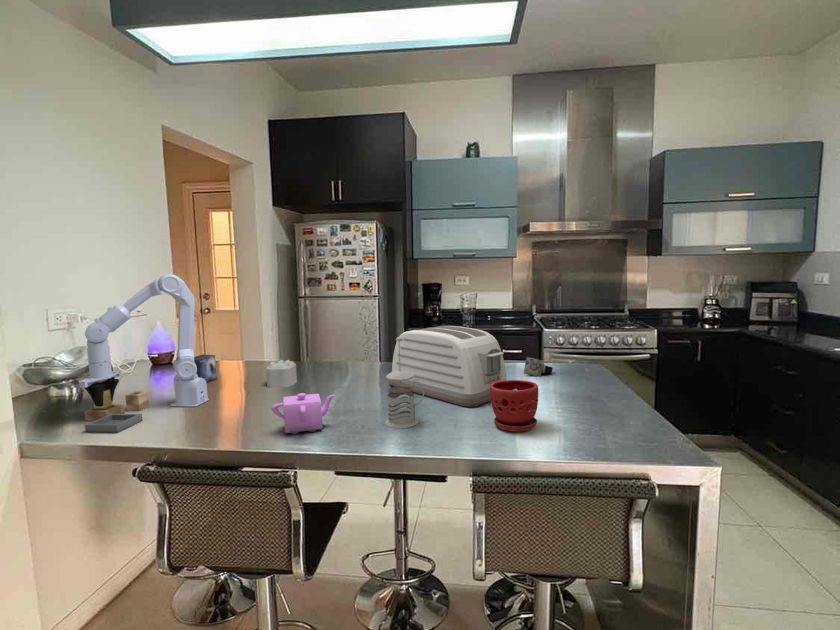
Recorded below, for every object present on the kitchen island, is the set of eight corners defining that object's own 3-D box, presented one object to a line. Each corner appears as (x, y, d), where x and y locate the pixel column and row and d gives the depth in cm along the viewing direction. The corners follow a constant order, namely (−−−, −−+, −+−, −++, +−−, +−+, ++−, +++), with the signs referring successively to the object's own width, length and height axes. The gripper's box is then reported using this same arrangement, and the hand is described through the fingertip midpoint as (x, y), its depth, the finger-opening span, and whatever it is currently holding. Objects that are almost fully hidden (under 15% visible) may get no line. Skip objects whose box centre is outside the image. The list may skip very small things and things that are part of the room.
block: (149, 407, 155) (147, 391, 155) (139, 411, 151) (138, 395, 150) (136, 407, 156) (135, 391, 155) (126, 411, 151) (125, 395, 151)
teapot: (335, 417, 140) (334, 385, 139) (341, 433, 127) (339, 397, 126) (273, 425, 135) (271, 391, 134) (272, 442, 122) (269, 404, 121)
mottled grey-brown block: (549, 377, 192) (552, 380, 182) (521, 371, 194) (523, 373, 184) (552, 361, 192) (555, 363, 182) (525, 355, 194) (526, 357, 184)
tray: (142, 421, 141) (142, 414, 141) (117, 433, 131) (116, 425, 131) (112, 420, 142) (111, 413, 142) (85, 432, 132) (84, 424, 132)
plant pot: (537, 419, 134) (537, 379, 133) (538, 436, 121) (538, 391, 120) (491, 417, 137) (491, 377, 136) (488, 433, 124) (487, 389, 123)
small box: (200, 386, 182) (198, 359, 181) (186, 385, 183) (184, 359, 182) (217, 379, 192) (215, 354, 191) (203, 379, 193) (201, 354, 192)
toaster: (475, 412, 143) (474, 340, 140) (385, 386, 176) (383, 327, 173) (519, 396, 158) (519, 331, 155) (429, 375, 191) (427, 321, 188)
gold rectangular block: (112, 410, 147) (110, 389, 146) (104, 414, 144) (102, 392, 143) (103, 410, 148) (100, 389, 147) (95, 414, 144) (92, 392, 144)
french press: (386, 416, 140) (383, 334, 137) (424, 416, 139) (422, 333, 137) (382, 428, 130) (379, 340, 127) (424, 427, 130) (422, 339, 127)
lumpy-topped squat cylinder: (264, 387, 177) (262, 365, 176) (275, 379, 190) (274, 358, 189) (291, 387, 177) (289, 364, 176) (300, 378, 190) (299, 357, 189)
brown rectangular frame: (124, 413, 149) (123, 404, 149) (106, 421, 142) (105, 411, 142) (103, 413, 150) (103, 404, 150) (85, 420, 143) (84, 411, 142)
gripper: (106, 356, 152) (110, 397, 153) (67, 366, 137) (72, 411, 139) (126, 356, 151) (129, 397, 152) (89, 366, 136) (94, 411, 138)
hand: (104, 404), depth 145 cm, fingers closed on gold rectangular block, 3 cm apart
